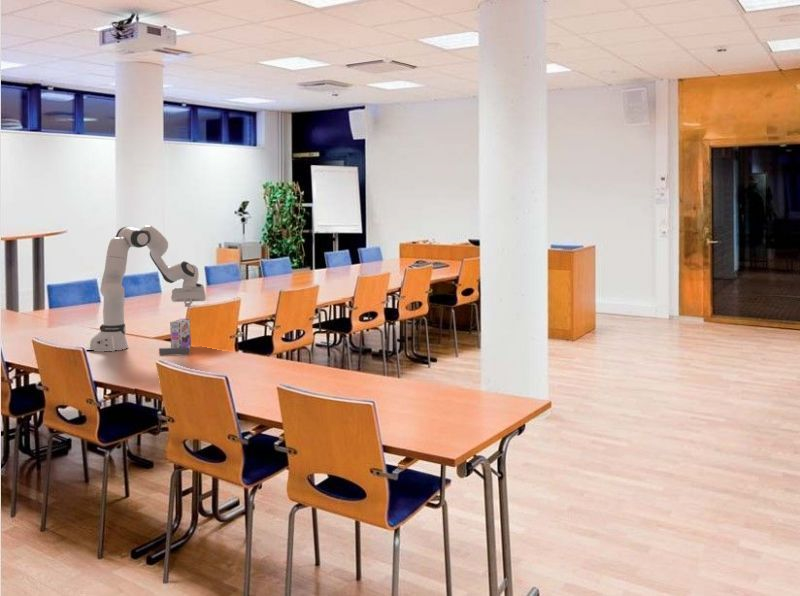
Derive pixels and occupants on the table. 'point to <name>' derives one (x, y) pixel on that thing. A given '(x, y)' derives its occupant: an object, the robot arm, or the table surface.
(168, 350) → the slide guide
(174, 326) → the candy box
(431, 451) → the table surface
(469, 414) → the table surface
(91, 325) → the table surface
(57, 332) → the table surface
